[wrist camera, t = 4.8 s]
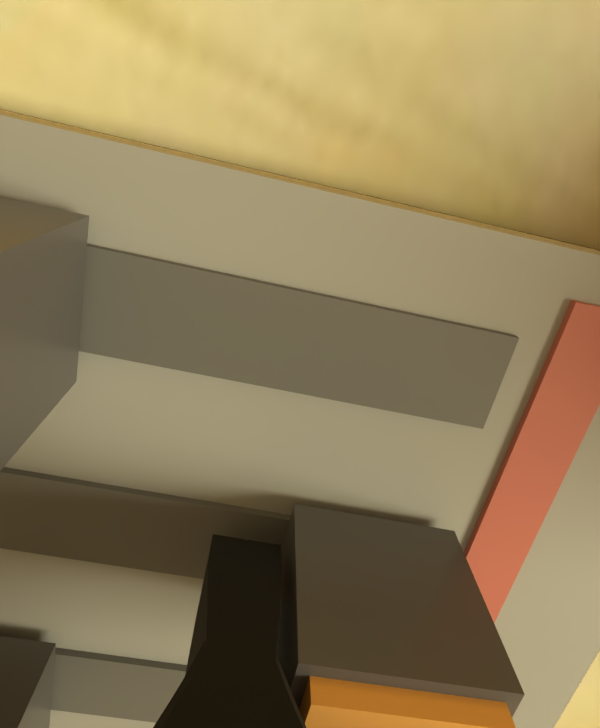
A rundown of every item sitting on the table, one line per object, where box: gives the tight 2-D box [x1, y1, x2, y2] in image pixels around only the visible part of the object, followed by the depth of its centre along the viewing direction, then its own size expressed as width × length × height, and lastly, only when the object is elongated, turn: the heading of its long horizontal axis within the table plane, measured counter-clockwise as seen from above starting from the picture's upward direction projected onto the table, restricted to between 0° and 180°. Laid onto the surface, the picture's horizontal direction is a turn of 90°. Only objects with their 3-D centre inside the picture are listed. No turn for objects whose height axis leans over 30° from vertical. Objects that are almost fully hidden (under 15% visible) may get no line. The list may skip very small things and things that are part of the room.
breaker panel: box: [0, 109, 600, 728], centre depth 11 cm, size 14×20×1 cm
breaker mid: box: [277, 504, 525, 728], centre depth 9 cm, size 3×3×4 cm
